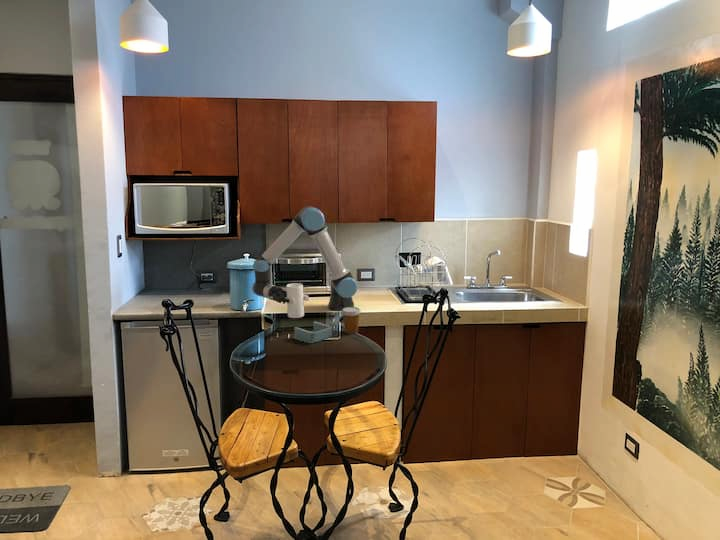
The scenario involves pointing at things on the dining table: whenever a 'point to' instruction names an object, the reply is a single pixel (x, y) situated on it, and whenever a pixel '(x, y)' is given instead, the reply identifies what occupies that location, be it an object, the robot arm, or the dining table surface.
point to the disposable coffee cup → (351, 319)
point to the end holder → (314, 333)
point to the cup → (295, 293)
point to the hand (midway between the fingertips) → (301, 300)
